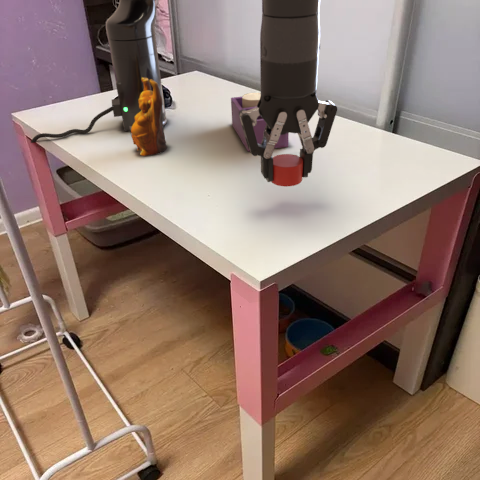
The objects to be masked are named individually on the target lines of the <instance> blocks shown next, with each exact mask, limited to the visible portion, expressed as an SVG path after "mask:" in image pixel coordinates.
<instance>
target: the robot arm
mask: <svg viewBox="0 0 480 480" xmlns="http://www.w3.org/2000/svg"><path fill="white" fill-rule="evenodd" d="M156 6H157V5H156V0H119V3H118V5H117V8H116V10H115V11H114V13H112V15H111V16H109V18H108V19H107V20H106V22H105V30H106V37H107V41H108V47H109V51H110V52H109V53H110V58H111V62H112V68H113V73H114V78H115V87H116V92H117V98H114V99H111V106H110V107H108V108H107V109H105V110H103V111H101V112H99V113H98V114H97V115H95V116H94V117H93V118H92V120H91V121H90V123H89V125H88V127H86V128H85V129H80V128H79V129H78V128H73V129H69V130H66V131H64V132H62V133H47V132H45V133H38V134H36V135H34V137H33V138H32V139H31V141H30V144H34V143H36V142H37V141H38V140H39V139H43V138H52V139H60V138H64V137H68V136H70V135H72V134H84V135H85V134H88V133H89V132H90V131H92V129H93V128H94V126H95V124H96V122H97V121H98V120H100V119H102V117H104V116H105V115H108V114H109V113H111V112H112V114H113V117H114V118H117V117H121V119H122V125H123V129H124V131H125V132H128V131H129V132H131V128H132V125H133V124H134V122H135V116H136V115H137V114H138V113H139V112H140V111H141V109H140V108H139V98H140V94H141V93H142V92H143V91H144V83H143V82H142V79H141V78H148V79H149V81H150V79H152V80H154V81H155V82H157V83H158V86H159V89H160V94H161V96H162V108H163V127H164V126H166V125H167V124H168V119H167V115H166V108H165V99H164V93H163V84H162V77H161V71H160V70H161V69H160V62H159V54H158V46H157V40H156V31H155V22H156V16H157V7H156ZM320 6H321V0H261V25H260V34H259V35H260V36H259V48H260V49H259V52H260V55H259V57H260V59H259V60H260V61H259V62H260V63H259V64H260V66H259V70H260V72H259V73H260V74H259V75H260V93H261V96H260V100H259V102H258V104H257V107H255V108H252V109H250V110H247V111H246V110H244V109H242V110H240V111H239V118H240V122H241V125H242V129H243V132H244V136H245V139H246V142H247V146H248V148H249V150H250V154H251V155H252V156H253V157H257V156H259V157H260V173H261V175H262V177H263V179H265V180H266V182H267V183H272V182H273V157H274V156H273V153H274V150H275V148H274V147H275V145H276V144H277V142H278V139H279V137H280V135H284V134H287V133H289V134H290V133H291V134H297V135H298V138H299V142H300V145H301V147H302V148H299V157H301V158H302V159H303V173H302V179H303V178H308V177H309V174H311V173H312V170H313V158H314V152H315V151H316V150H318V149H324V148H325V147H326V146H327V144H328V140H329V137H330V133H331V131H332V128H333V125H334V123H335V122H334V121H335V118H336V116H337V112H338V107H337V106H336V105H335V103H333V102H332V101H331V100H329V99H327V100H325V101H321V100H319V99H318V96H317V89H318V73H319V59H320V57H319V56H320V50H321V42H320V40H321V25H320ZM149 83H150V82H149ZM150 86H151V90H152V91H153V87H152V85H151V84H150ZM316 112H317V116H318V121H317V124H316V128H315V131H314V134H313V136H312V133H311V129H310V126H309V123H310V121H311V120H312V118H313V116H314V115H315V114H316ZM258 116H261V117H262V118H263V120H264V121H265V122H266V126H265V129H264V133H263V139H262V142H261V144H258V143H257V139H256V136H255V132H254V128H253V127H254V126H255V125H256V124H257V118H258Z"/></svg>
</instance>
